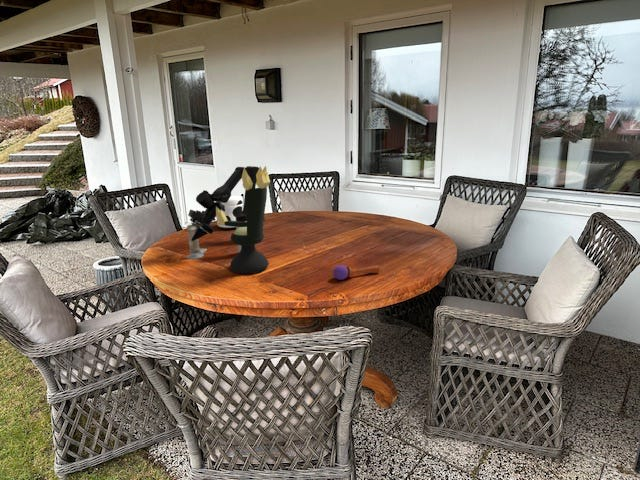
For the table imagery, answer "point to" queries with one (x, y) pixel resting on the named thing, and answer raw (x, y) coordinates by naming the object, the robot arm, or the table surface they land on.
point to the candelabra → (249, 225)
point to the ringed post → (192, 244)
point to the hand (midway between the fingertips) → (190, 239)
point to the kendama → (352, 271)
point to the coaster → (195, 256)
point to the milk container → (232, 209)
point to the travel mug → (242, 219)
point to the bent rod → (202, 250)
